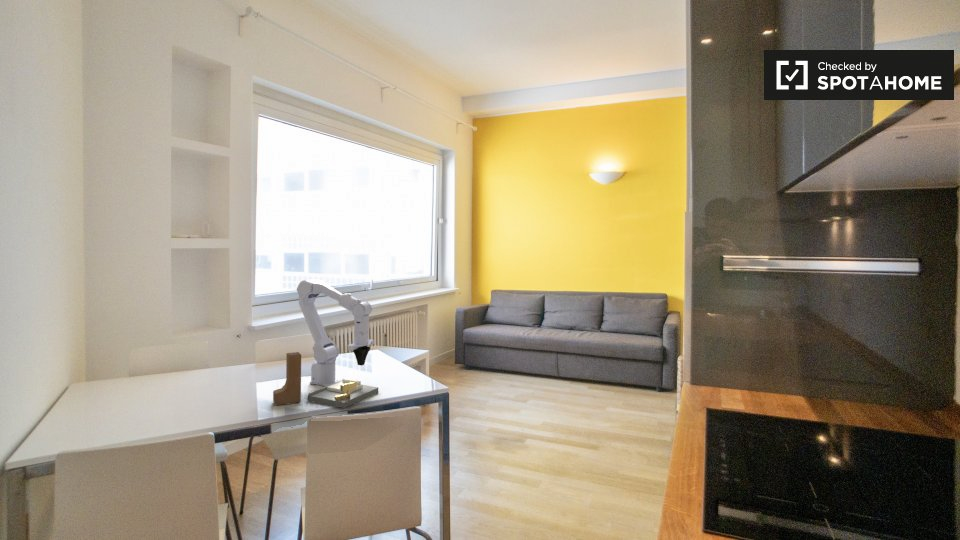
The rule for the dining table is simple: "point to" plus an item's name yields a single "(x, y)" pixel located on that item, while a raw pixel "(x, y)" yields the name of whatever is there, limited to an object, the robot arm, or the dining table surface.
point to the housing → (328, 396)
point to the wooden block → (290, 381)
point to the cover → (337, 386)
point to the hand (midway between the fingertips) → (361, 364)
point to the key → (347, 388)
